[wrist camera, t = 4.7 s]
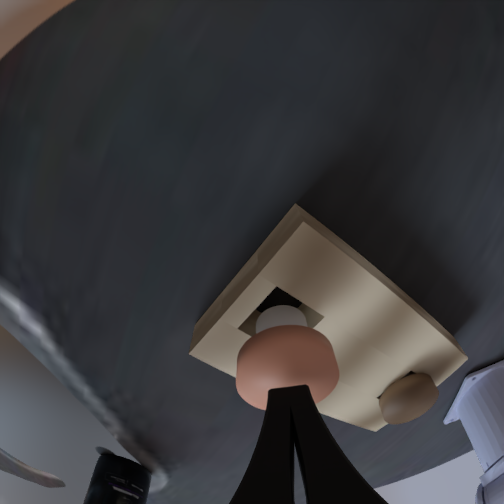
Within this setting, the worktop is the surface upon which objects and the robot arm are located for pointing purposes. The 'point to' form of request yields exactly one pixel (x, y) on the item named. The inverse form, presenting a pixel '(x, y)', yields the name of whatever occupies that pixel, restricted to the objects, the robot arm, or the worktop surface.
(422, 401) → the walnut plunger
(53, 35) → the worktop surface
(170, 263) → the worktop surface
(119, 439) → the worktop surface
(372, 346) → the board
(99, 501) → the supplement bottle
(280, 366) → the terracotta plunger
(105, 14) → the worktop surface
